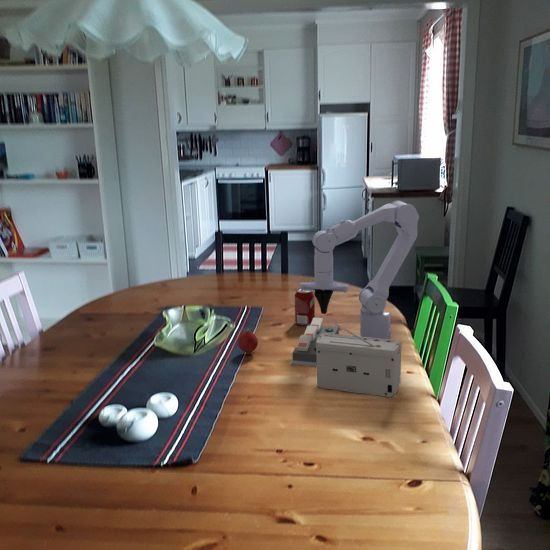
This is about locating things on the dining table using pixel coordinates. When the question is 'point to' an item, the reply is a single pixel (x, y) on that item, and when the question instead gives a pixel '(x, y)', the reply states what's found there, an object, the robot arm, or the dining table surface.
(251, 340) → the onion
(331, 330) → the power strip
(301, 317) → the soda can
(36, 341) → the dining table surface
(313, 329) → the rocker middle
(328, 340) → the stereo radio cassette player
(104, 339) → the dining table surface
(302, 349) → the rocker
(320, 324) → the rocker
